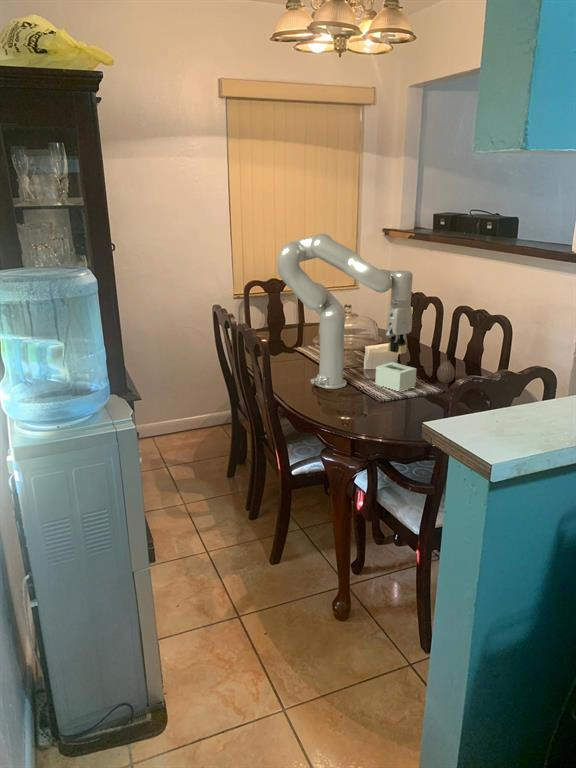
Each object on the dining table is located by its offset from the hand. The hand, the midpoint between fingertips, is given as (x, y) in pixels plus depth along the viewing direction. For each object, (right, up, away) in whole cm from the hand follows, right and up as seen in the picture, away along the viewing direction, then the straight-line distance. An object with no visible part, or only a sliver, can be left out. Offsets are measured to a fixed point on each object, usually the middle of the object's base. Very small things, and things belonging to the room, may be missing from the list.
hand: (397, 350), depth 220 cm
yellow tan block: (0, 0, 0) cm, 1 cm away
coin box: (0, -14, +5) cm, 15 cm away
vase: (+22, -12, +11) cm, 28 cm away
